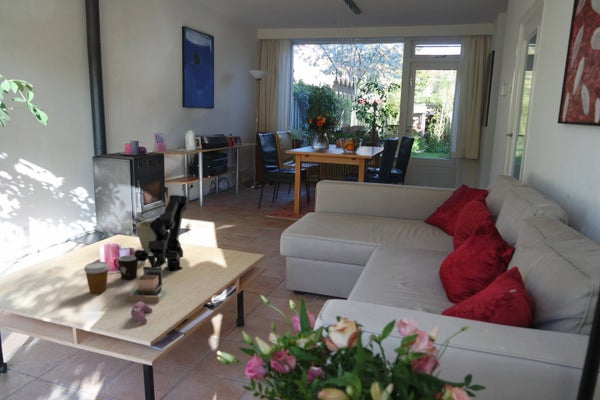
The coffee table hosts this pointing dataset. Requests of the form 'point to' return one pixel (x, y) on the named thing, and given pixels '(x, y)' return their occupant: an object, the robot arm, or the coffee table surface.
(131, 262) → the coffee mug
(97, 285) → the disposable coffee cup
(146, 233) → the plant pot
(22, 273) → the coffee table surface
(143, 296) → the dock bay
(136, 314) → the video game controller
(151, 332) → the coffee table surface
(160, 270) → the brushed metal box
